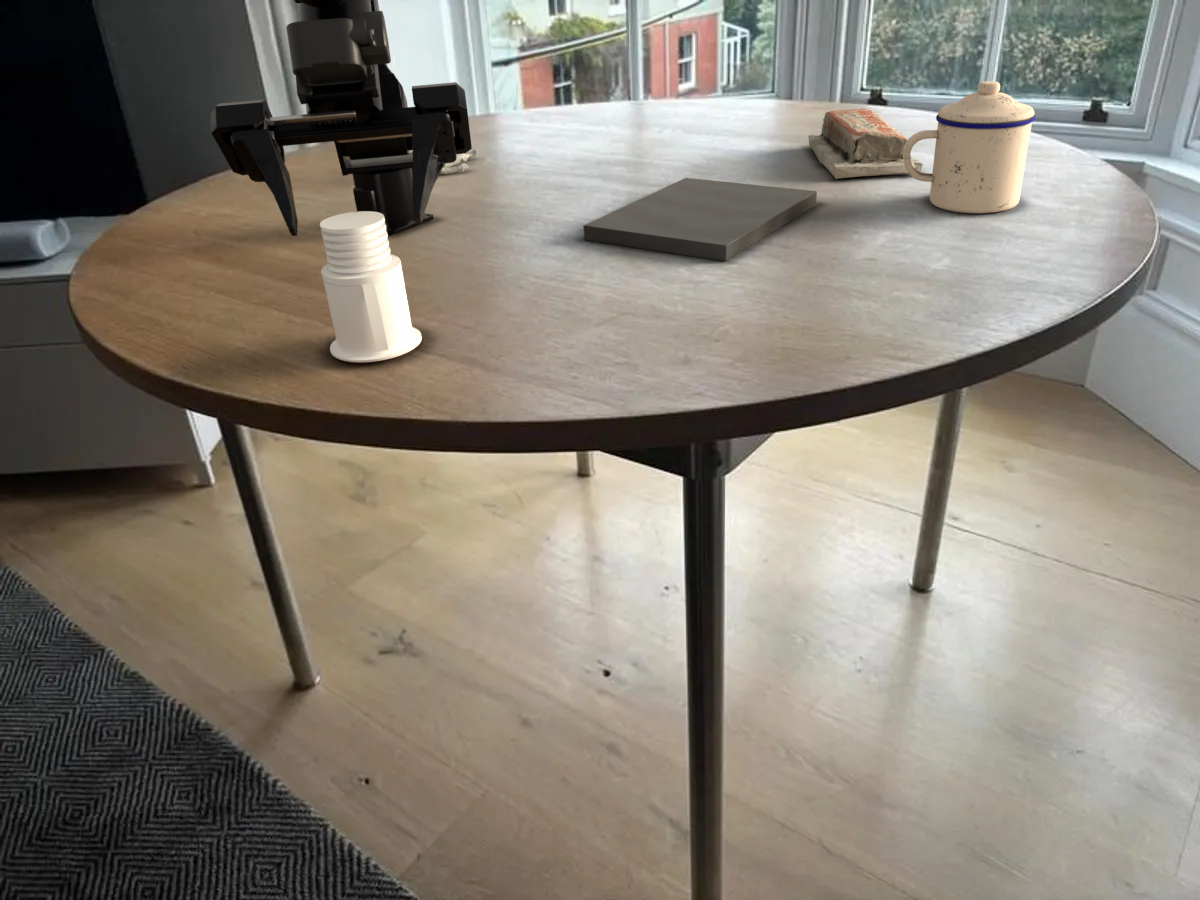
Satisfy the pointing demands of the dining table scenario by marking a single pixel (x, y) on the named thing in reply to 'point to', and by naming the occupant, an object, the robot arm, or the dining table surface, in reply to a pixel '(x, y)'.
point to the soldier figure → (459, 159)
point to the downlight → (365, 290)
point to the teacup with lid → (977, 152)
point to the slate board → (701, 218)
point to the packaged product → (860, 145)
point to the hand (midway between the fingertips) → (356, 226)
